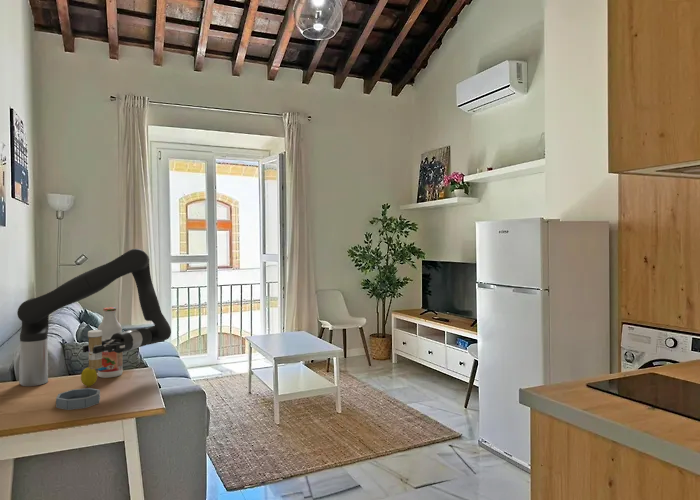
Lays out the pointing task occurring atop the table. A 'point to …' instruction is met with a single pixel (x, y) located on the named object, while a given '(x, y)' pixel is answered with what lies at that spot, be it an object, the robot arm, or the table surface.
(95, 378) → the lemon
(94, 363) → the spice jar
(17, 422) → the table surface
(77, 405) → the bowl
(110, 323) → the fruit juice
